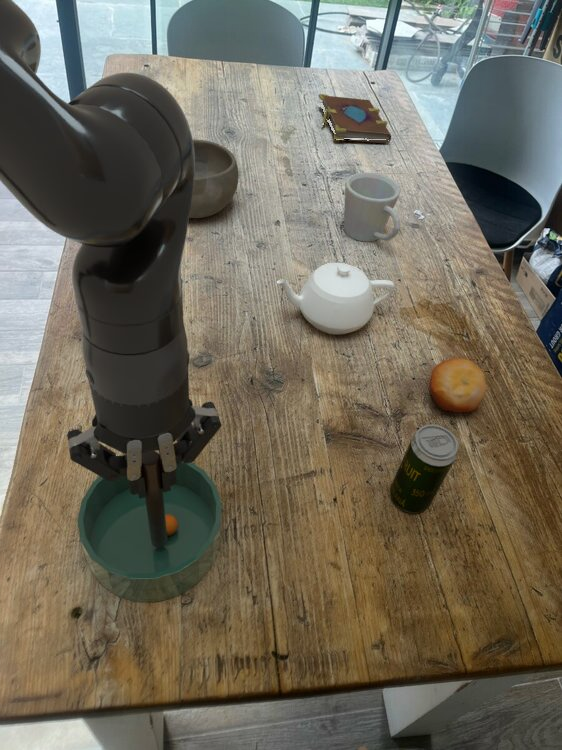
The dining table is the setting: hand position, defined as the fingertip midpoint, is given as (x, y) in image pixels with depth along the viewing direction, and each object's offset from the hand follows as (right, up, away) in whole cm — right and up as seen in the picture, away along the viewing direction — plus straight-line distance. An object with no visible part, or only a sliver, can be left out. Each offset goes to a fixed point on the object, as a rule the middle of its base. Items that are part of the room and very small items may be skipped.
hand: (152, 486), depth 57 cm
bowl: (-5, +45, +60) cm, 75 cm away
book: (+30, +76, +94) cm, 125 cm away
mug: (+30, +38, +58) cm, 76 cm away
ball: (-1, -6, +10) cm, 12 cm away
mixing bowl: (-2, -8, +11) cm, 14 cm away
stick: (-1, -7, +8) cm, 11 cm away
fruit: (+38, +7, +30) cm, 49 cm away
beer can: (+29, -5, +18) cm, 35 cm away
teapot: (+21, +21, +41) cm, 50 cm away
